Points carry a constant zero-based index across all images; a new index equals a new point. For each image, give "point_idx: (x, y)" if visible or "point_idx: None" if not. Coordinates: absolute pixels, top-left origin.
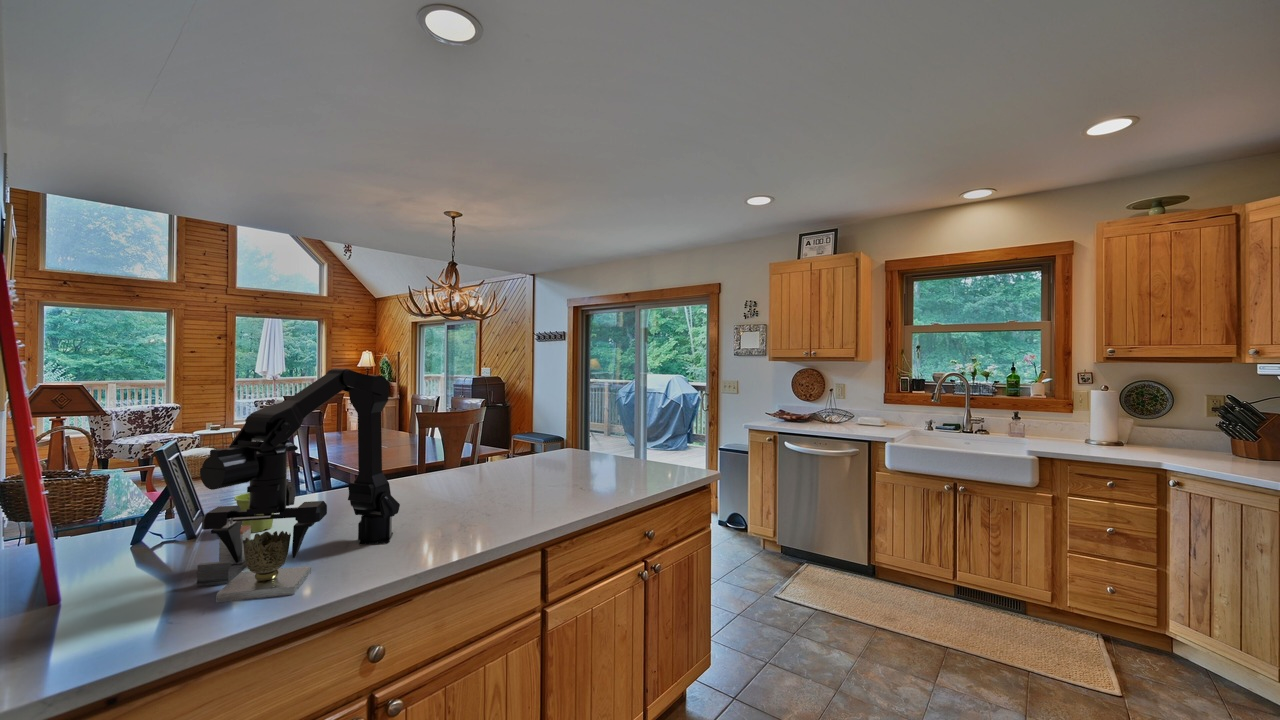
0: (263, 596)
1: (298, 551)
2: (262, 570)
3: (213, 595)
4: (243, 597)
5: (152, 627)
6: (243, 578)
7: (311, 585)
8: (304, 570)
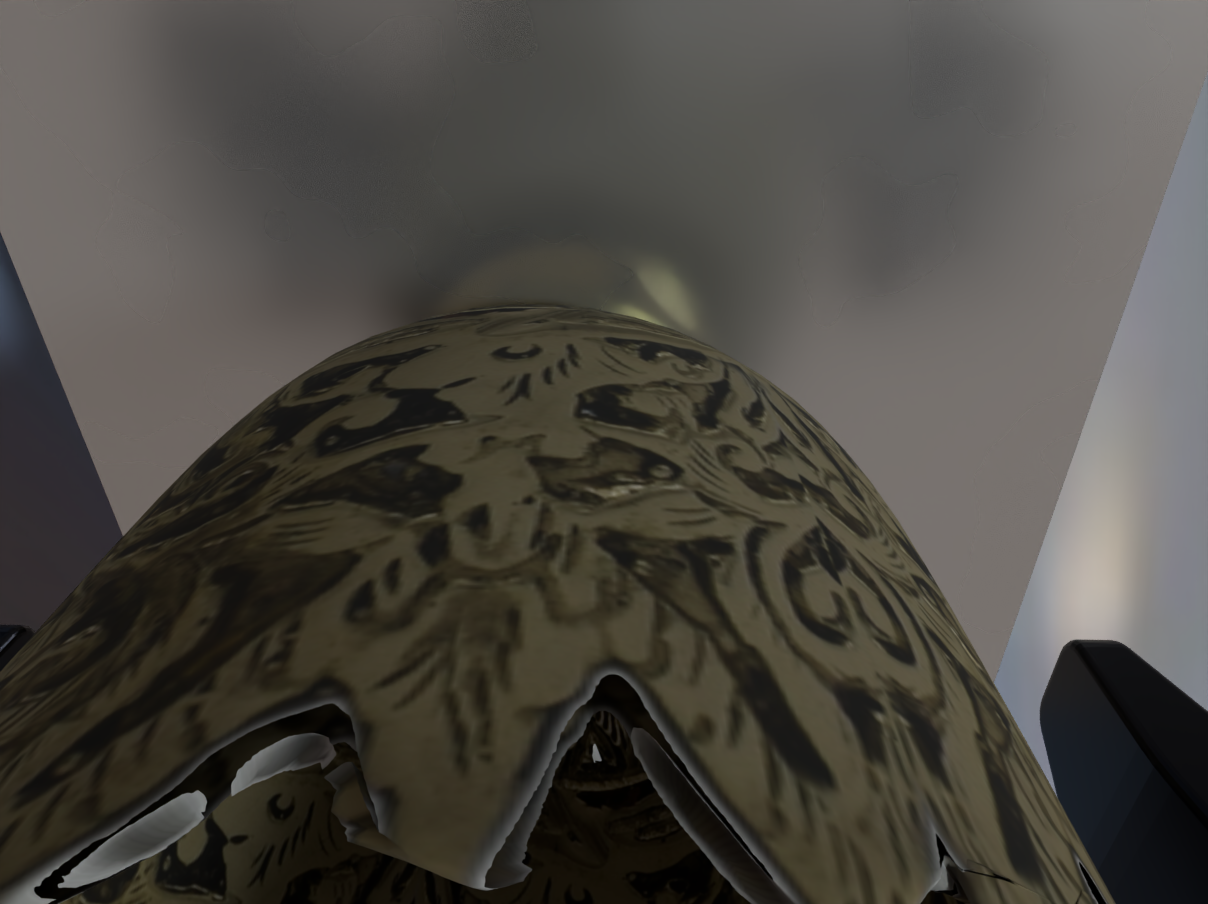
0: None
1: (1198, 710)
2: (581, 757)
3: (41, 451)
4: None
5: None
6: (189, 322)
7: (1144, 447)
8: (1108, 206)
